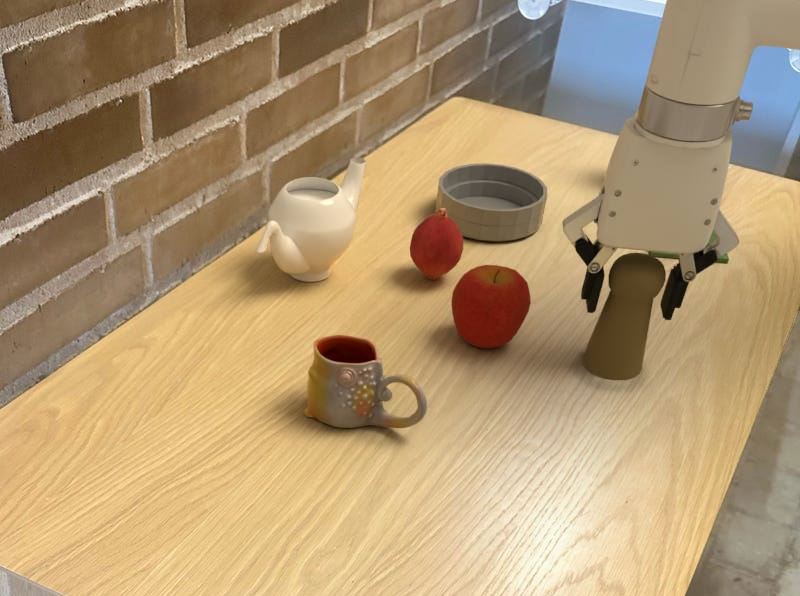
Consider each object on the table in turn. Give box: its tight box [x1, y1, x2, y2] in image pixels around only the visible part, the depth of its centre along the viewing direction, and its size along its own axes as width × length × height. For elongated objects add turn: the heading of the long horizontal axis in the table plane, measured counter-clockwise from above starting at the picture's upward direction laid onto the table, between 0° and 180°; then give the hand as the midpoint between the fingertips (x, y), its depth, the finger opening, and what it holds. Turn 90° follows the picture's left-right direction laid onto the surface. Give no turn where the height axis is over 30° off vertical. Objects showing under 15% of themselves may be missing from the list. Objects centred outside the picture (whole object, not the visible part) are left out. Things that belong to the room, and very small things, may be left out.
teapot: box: [255, 157, 367, 283], centre depth 106 cm, size 10×20×9 cm, turn 146°
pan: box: [434, 162, 548, 243], centre depth 118 cm, size 13×13×4 cm
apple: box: [450, 264, 531, 349], centre depth 98 cm, size 8×8×8 cm
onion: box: [409, 208, 464, 281], centre depth 106 cm, size 6×6×8 cm
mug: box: [303, 334, 428, 429], centre depth 88 cm, size 12×7×7 cm, turn 55°
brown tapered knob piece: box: [581, 252, 667, 381], centre depth 95 cm, size 6×6×11 cm
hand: (627, 308), depth 94 cm, fingers open, 6 cm apart
